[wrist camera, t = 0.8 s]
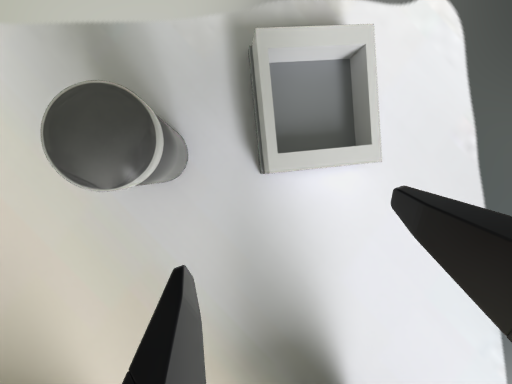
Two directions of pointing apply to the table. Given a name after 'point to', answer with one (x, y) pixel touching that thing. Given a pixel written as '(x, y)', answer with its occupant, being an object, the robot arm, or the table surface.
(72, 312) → the table surface
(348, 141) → the white open box
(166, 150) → the gray cylindrical canister
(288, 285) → the table surface
